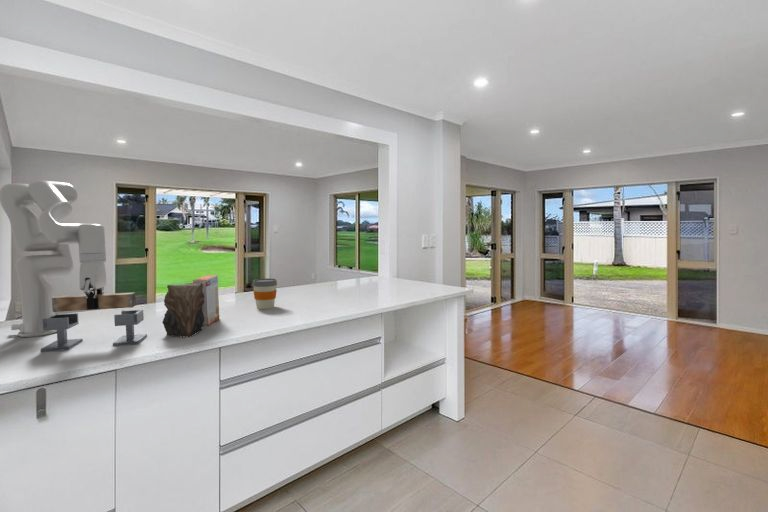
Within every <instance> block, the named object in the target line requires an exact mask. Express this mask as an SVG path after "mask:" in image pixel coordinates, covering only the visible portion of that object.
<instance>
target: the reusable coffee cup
mask: <svg viewBox="0 0 768 512" xmlns="http://www.w3.org/2000/svg"><path fill="white" fill-rule="evenodd" d="M277 285H278V282H277V278H256V279H253V280H252V287H253V297H254V300H255V304H256V308H257V309H259V310H267V309H270V310H271V309H273V308H275V301H276V298H277V291H278V289H277Z"/></svg>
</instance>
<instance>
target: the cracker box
mask: <svg viewBox="0 0 768 512" xmlns="http://www.w3.org/2000/svg"><path fill="white" fill-rule="evenodd" d="M218 276H219V275H215V274H214V275H213V274H212V275H208V274H207V275H203V276H201V277H198V278H195V279H193V280H192V283H194V284H200V283H202V285H203V289H202V291H203V293H204V304H203V306H202V312H203V315H204V323H203V326H202V327H209V326H211V325H212V324H214V323H215V322H216V321H218V320H219V319H220V306H219V305H220V303H219V301H220V300H219V299H220V298H219V297H220V296H219V277H218Z"/></svg>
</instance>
